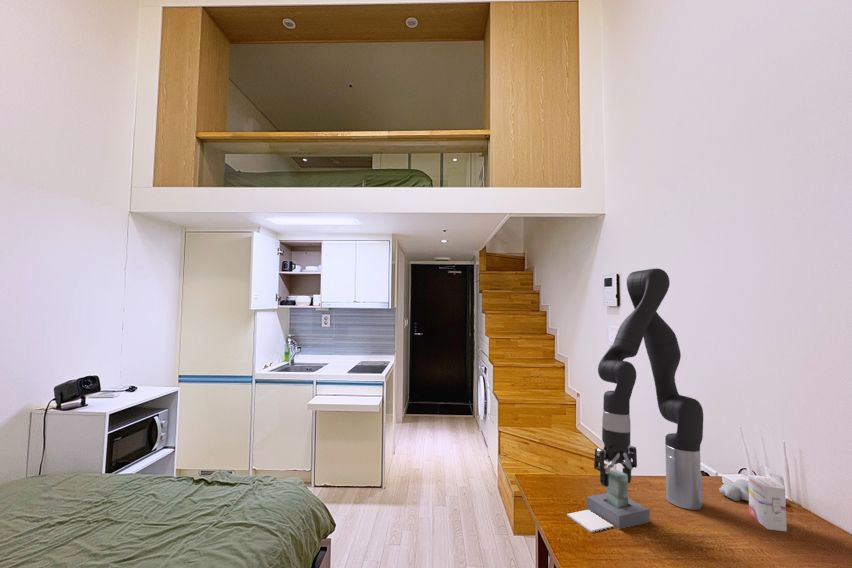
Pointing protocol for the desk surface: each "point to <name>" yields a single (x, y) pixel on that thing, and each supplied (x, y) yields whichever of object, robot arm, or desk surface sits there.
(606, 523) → the mat
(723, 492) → the bunny figurine
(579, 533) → the desk surface
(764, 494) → the ink cartridge box
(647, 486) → the desk surface
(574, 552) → the desk surface
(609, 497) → the peg
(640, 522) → the pocket holder
